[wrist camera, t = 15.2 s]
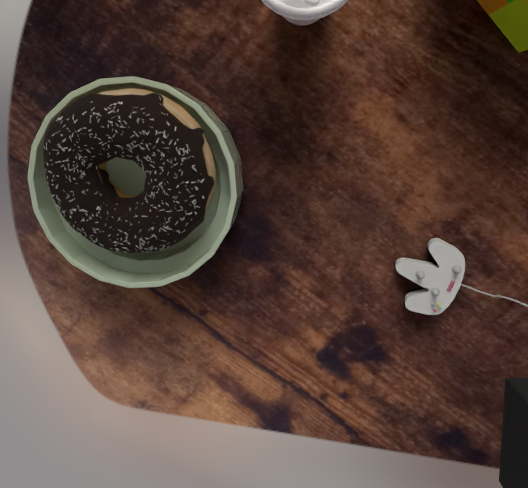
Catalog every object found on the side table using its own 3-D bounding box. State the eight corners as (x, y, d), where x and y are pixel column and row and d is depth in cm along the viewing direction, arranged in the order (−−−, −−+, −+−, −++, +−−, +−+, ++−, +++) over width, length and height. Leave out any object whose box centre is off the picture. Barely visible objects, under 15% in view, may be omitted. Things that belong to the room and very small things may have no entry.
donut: (30, 132, 34) (-6, 152, 31) (162, 45, 30) (136, 57, 26) (125, 257, 38) (102, 286, 35) (254, 197, 34) (242, 224, 30)
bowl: (47, 91, 37) (10, 86, 32) (234, 75, 36) (225, 68, 31) (78, 272, 40) (48, 292, 35) (250, 262, 39) (244, 282, 34)
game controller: (394, 235, 38) (402, 243, 35) (550, 236, 37) (569, 245, 34) (390, 306, 39) (397, 318, 36) (540, 308, 38) (558, 321, 36)
